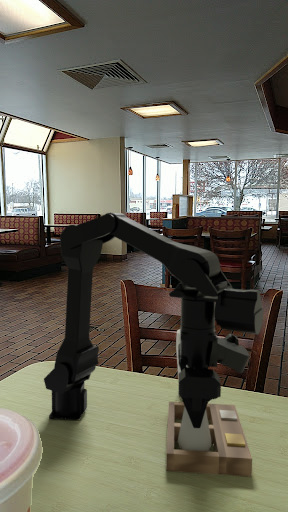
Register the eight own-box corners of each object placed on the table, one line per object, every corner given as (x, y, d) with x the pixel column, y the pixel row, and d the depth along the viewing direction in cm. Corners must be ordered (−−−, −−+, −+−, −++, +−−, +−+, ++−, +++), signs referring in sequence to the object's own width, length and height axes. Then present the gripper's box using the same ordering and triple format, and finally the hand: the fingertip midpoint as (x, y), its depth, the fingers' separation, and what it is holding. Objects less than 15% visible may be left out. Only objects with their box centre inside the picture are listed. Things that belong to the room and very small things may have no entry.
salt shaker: (210, 467, 62) (212, 391, 61) (175, 462, 63) (177, 387, 62) (211, 447, 68) (213, 377, 67) (180, 442, 69) (181, 374, 68)
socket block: (166, 470, 61) (166, 451, 61) (168, 415, 79) (168, 399, 79) (251, 476, 60) (252, 456, 60) (234, 418, 78) (234, 403, 78)
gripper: (258, 344, 54) (254, 448, 55) (237, 313, 72) (234, 392, 74) (179, 341, 55) (177, 443, 56) (178, 311, 73) (177, 389, 75)
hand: (195, 413), depth 65 cm, fingers open, 9 cm apart
